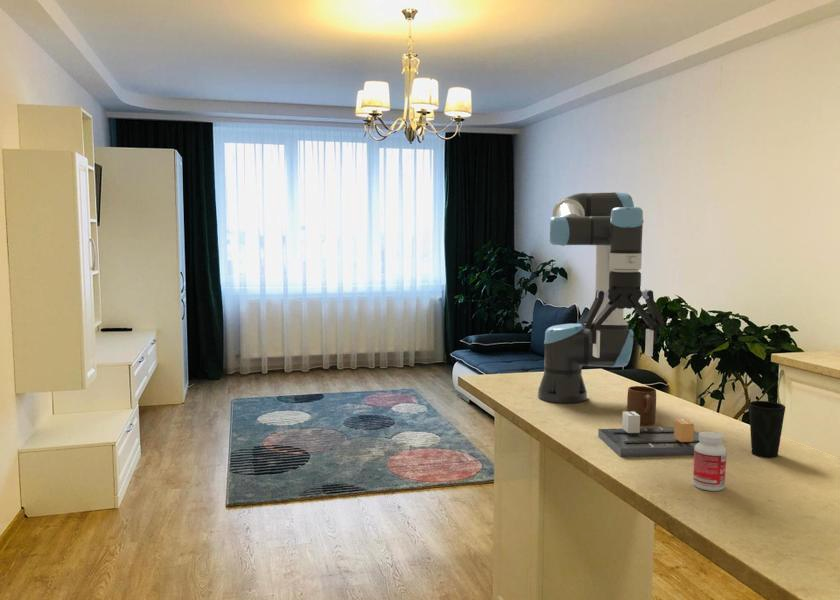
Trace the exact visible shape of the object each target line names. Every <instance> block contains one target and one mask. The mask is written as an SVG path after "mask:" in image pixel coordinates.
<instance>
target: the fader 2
mask: <svg viewBox="0 0 840 600" xmlns="http://www.w3.org/2000/svg"><path fill="white" fill-rule="evenodd" d="M673 421H674V422H673V423H674V424H673V425H674V426H673V427H674V438H676V439H677V440H679V441H680V442H693V435H694V431H695V424H694V423H693V422H692V421H690V420H689V419H686V418H678V419H676V418H675V419H674V420H673Z"/></svg>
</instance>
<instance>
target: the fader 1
mask: <svg viewBox="0 0 840 600" xmlns="http://www.w3.org/2000/svg"><path fill="white" fill-rule="evenodd" d="M621 420H622V421H621V422H622V423H621V426H622V427H621V428H622V429H623V430H625V431H626V432H627V433H640V428H641V425H640V415H639V414H637V413H636V412H634V411H628V412H627V411H622V419H621Z"/></svg>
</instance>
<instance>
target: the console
mask: <svg viewBox="0 0 840 600" xmlns="http://www.w3.org/2000/svg"><path fill="white" fill-rule="evenodd" d="M699 433H700V432H699ZM699 433H698V432H697V431H696V430H694V435H693V442H680V441H679V440H677V439H676V438H674V426H672V427H671V426H670V427H660V426H658V427H640V433H627V432H626V431H625V430H623V429H622V427H621V428H598V431H597V435H598V436H597V437H598V438H599V439H601V441H602V442H603V443H605V444H606V446H608V447H609V448H610V449H612V451H613V452H614V453H616V454H617V455H618V456H619V457H620V458H629V457H669V456H670V457H672V456H694V448H695V445H696V444H697V443H699V442H700V441H699V439H698V438H699Z"/></svg>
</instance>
